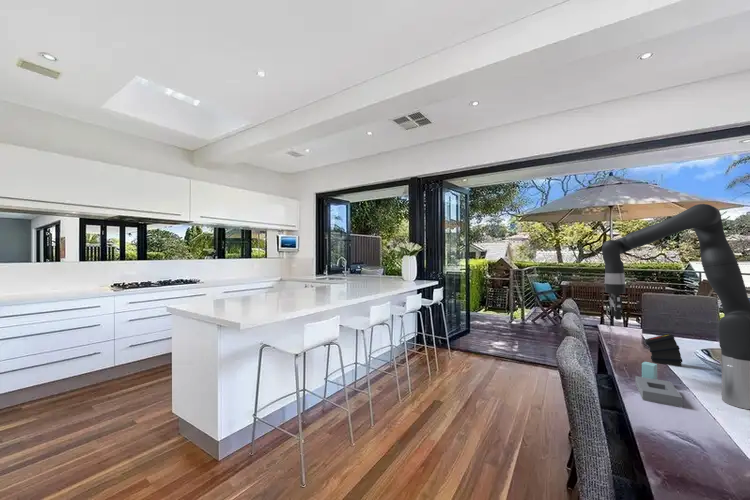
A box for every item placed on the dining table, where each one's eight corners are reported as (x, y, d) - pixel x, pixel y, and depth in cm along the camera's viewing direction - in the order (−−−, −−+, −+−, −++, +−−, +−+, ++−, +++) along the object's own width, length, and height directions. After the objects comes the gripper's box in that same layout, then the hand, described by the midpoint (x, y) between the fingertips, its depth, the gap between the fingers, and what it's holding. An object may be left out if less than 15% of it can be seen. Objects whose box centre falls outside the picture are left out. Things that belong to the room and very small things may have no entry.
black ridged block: (691, 365, 149) (672, 334, 153) (657, 371, 156) (640, 341, 160) (690, 363, 152) (671, 332, 156) (657, 369, 159) (640, 340, 163)
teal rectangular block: (657, 383, 134) (657, 364, 134) (653, 385, 131) (653, 366, 131) (645, 379, 137) (645, 361, 137) (641, 381, 135) (641, 363, 135)
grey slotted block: (635, 384, 132) (635, 376, 132) (670, 390, 127) (670, 381, 127) (642, 399, 119) (642, 390, 119) (682, 407, 113) (682, 397, 113)
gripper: (628, 284, 138) (630, 321, 138) (621, 281, 151) (622, 315, 151) (607, 284, 142) (609, 320, 142) (602, 281, 154) (603, 314, 154)
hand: (616, 317), depth 146 cm, fingers open, 8 cm apart
